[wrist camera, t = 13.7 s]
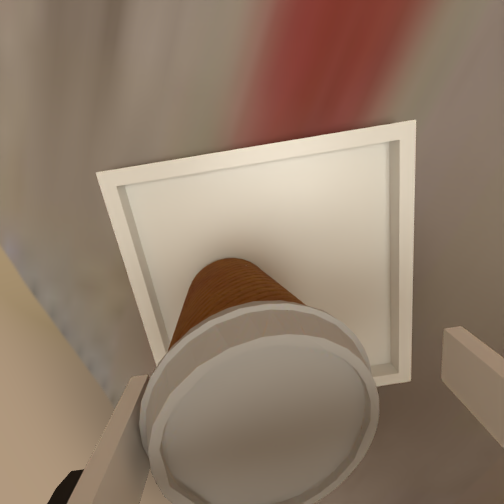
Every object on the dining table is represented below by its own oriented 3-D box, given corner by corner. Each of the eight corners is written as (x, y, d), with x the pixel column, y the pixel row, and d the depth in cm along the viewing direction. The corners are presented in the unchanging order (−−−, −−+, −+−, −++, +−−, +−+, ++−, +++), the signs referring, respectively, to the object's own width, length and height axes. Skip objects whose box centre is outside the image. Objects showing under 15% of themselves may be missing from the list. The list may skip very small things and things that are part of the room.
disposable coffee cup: (151, 247, 19) (98, 357, 8) (286, 226, 21) (397, 296, 10) (177, 363, 22) (163, 564, 11) (294, 338, 24) (386, 492, 13)
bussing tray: (395, 361, 26) (410, 381, 24) (178, 394, 26) (172, 417, 24) (395, 124, 20) (416, 119, 18) (112, 171, 20) (95, 172, 18)
